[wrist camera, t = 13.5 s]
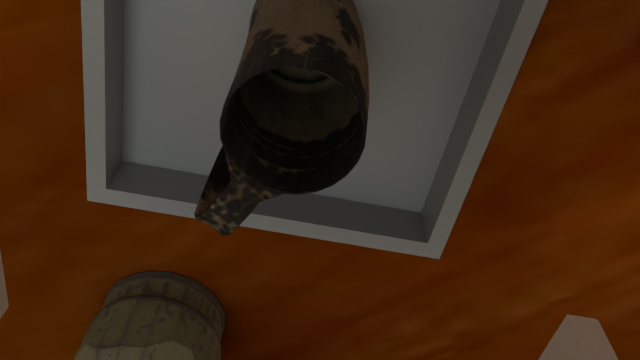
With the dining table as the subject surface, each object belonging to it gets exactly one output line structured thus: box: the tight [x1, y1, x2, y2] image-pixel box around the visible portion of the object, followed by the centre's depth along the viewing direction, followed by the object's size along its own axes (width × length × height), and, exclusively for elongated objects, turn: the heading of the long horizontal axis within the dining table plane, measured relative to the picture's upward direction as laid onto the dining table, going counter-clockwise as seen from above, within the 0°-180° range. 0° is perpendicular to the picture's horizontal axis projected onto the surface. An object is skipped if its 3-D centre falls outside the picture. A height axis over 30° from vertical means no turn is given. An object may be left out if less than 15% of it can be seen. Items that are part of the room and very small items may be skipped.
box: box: [81, 0, 548, 259], centre depth 28 cm, size 20×20×4 cm
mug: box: [194, 0, 369, 236], centre depth 23 cm, size 8×6×12 cm
